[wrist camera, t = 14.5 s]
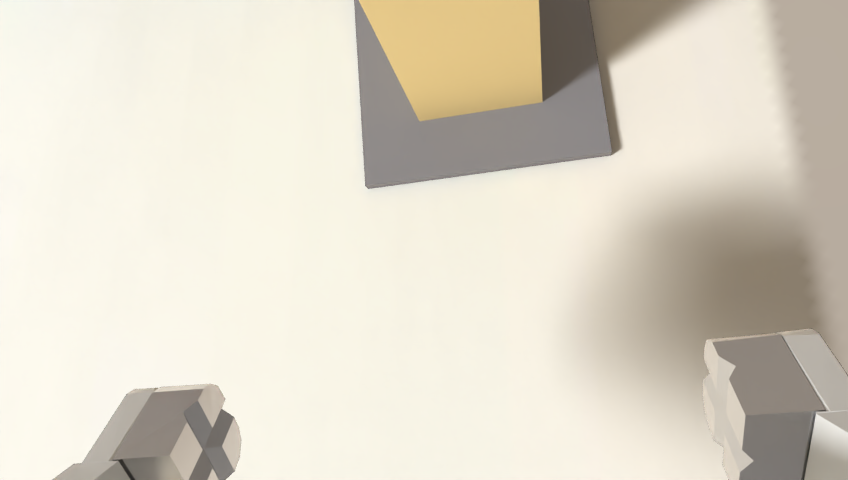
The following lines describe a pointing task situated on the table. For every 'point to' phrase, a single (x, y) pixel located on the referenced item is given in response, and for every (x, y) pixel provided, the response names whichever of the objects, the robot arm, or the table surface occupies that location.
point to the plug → (461, 52)
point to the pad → (489, 130)
